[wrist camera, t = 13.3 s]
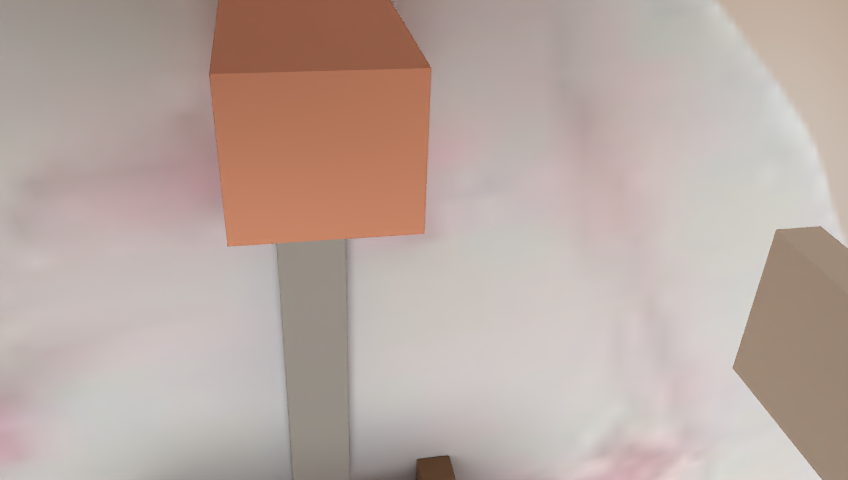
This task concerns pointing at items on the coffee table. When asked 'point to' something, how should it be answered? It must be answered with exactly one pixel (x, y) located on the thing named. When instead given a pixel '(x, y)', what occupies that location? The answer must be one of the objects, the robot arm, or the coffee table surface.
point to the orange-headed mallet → (318, 175)
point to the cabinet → (435, 469)
